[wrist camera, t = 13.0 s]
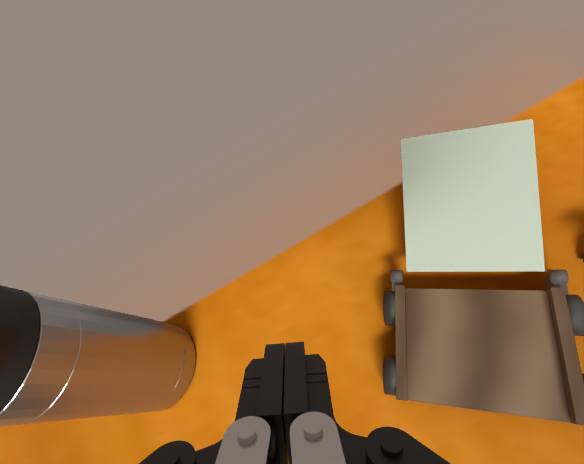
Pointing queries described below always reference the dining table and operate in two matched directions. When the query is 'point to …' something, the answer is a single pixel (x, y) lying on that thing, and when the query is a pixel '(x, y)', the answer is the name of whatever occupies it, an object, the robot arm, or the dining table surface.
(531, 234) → the panel
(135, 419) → the dining table surface
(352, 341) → the dining table surface
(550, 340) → the flatbed
